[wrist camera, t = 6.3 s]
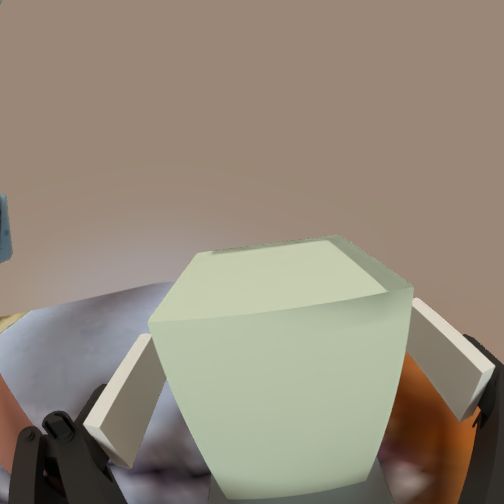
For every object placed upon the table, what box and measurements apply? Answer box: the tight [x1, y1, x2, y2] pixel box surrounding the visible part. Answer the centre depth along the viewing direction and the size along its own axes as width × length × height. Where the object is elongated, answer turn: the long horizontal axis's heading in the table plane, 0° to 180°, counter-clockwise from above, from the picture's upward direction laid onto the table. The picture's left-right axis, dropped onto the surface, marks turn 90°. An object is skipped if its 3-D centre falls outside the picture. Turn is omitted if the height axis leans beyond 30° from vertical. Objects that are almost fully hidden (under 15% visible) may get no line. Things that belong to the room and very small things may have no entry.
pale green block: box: [147, 235, 414, 499], centre depth 11 cm, size 7×7×11 cm
